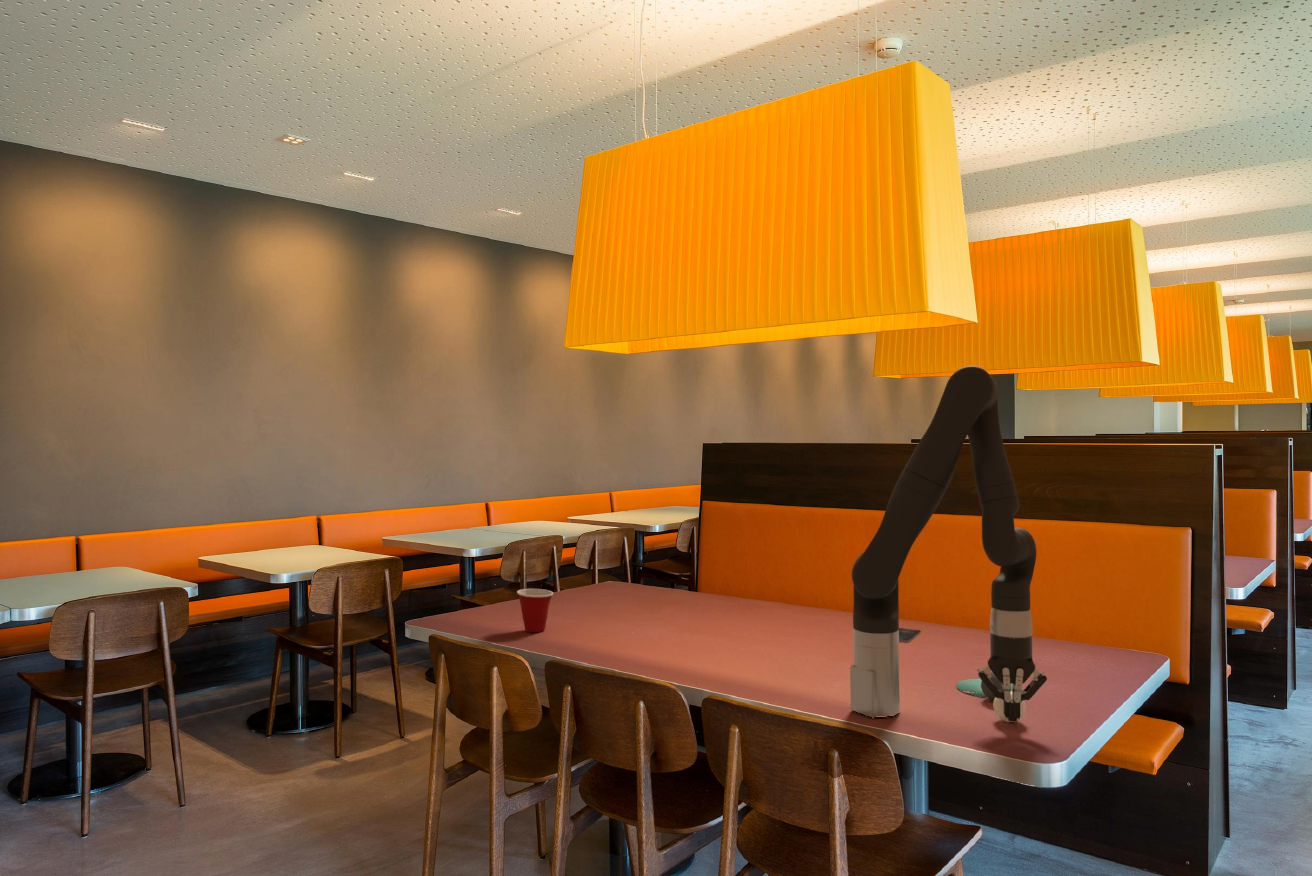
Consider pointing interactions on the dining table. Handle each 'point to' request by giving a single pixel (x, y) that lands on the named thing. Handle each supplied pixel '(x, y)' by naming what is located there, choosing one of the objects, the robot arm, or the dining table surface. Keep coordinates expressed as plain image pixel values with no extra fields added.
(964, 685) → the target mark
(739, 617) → the dining table surface
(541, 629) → the plastic cup
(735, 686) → the dining table surface
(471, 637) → the dining table surface
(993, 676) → the object ball
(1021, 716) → the cue ball
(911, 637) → the smartphone
